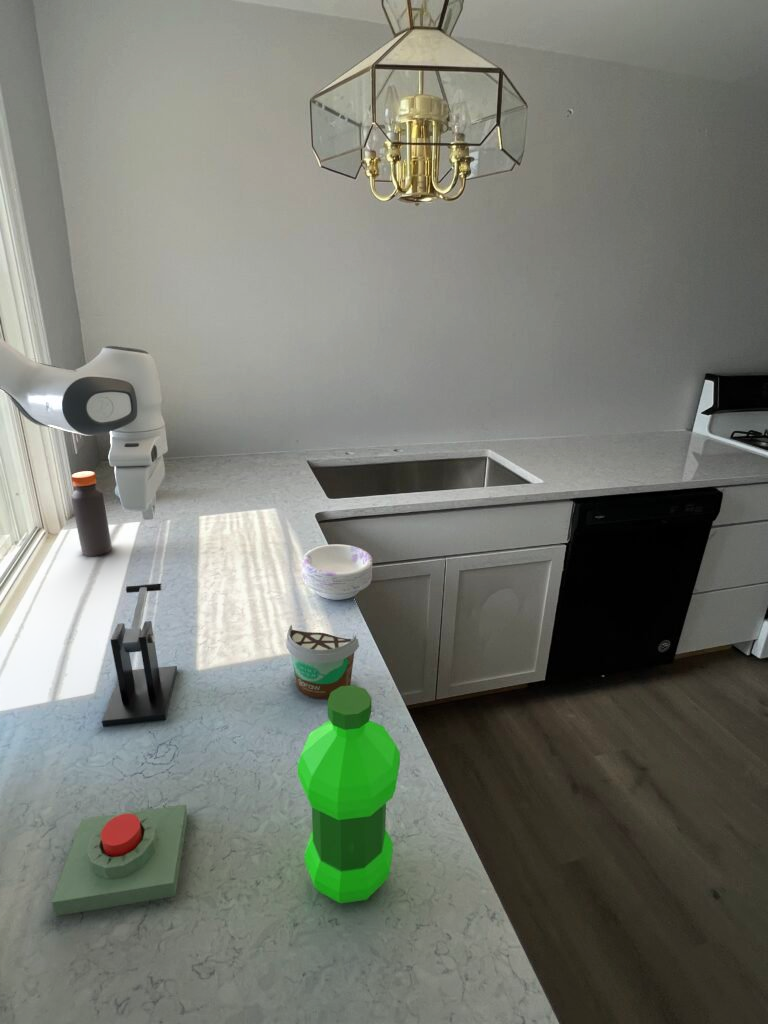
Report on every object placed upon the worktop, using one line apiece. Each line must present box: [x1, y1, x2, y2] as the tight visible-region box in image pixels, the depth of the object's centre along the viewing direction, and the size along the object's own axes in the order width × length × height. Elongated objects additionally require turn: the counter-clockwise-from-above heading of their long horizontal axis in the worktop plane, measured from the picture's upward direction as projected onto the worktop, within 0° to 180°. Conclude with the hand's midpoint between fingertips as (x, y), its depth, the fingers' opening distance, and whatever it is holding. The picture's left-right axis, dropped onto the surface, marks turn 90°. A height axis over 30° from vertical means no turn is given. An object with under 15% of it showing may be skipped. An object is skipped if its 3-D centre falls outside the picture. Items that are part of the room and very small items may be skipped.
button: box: [101, 814, 142, 857], centre depth 62 cm, size 4×4×2 cm
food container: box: [285, 624, 360, 700], centre depth 90 cm, size 12×6×10 cm, turn 76°
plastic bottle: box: [296, 684, 401, 904], centre depth 59 cm, size 10×10×25 cm
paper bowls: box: [302, 543, 373, 601], centre depth 122 cm, size 15×15×8 cm
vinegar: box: [70, 470, 113, 557], centre depth 135 cm, size 7×7×20 cm
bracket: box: [101, 620, 178, 728], centre depth 87 cm, size 12×9×13 cm
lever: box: [122, 583, 163, 653], centre depth 90 cm, size 13×6×2 cm, turn 11°
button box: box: [51, 804, 189, 917], centre depth 63 cm, size 12×10×4 cm
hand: (149, 516), depth 102 cm, fingers closed
